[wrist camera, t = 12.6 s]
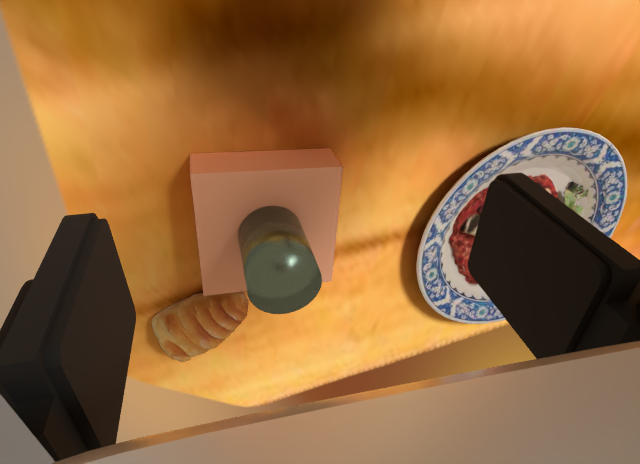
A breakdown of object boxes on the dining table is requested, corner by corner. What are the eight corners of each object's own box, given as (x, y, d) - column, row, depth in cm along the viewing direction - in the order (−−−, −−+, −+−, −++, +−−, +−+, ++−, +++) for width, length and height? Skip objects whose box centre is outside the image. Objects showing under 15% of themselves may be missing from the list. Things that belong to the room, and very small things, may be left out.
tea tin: (302, 203, 36) (324, 251, 30) (300, 256, 39) (319, 309, 33) (236, 208, 35) (246, 258, 29) (239, 262, 38) (248, 318, 32)
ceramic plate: (414, 336, 56) (424, 353, 54) (400, 160, 41) (414, 173, 39) (589, 277, 59) (606, 291, 56) (635, 92, 44) (662, 100, 42)
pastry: (225, 269, 43) (228, 294, 40) (259, 308, 47) (265, 334, 44) (145, 314, 43) (143, 342, 40) (186, 349, 47) (186, 377, 44)
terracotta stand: (329, 148, 38) (342, 166, 35) (321, 257, 45) (331, 281, 42) (189, 153, 35) (190, 173, 32) (202, 269, 42) (203, 296, 39)
